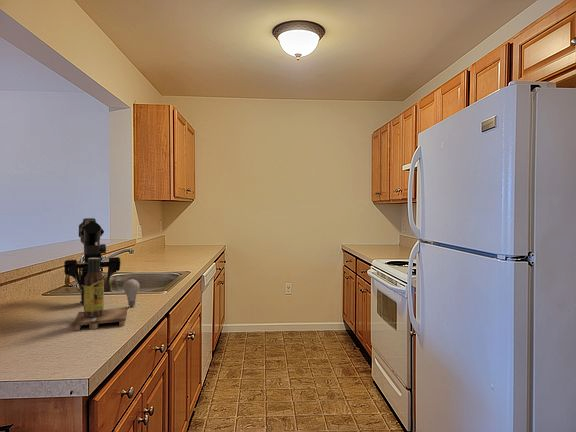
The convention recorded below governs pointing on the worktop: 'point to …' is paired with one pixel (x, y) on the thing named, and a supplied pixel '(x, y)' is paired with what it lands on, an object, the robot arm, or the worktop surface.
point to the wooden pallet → (101, 318)
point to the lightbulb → (131, 291)
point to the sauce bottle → (93, 289)
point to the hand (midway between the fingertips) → (94, 284)
